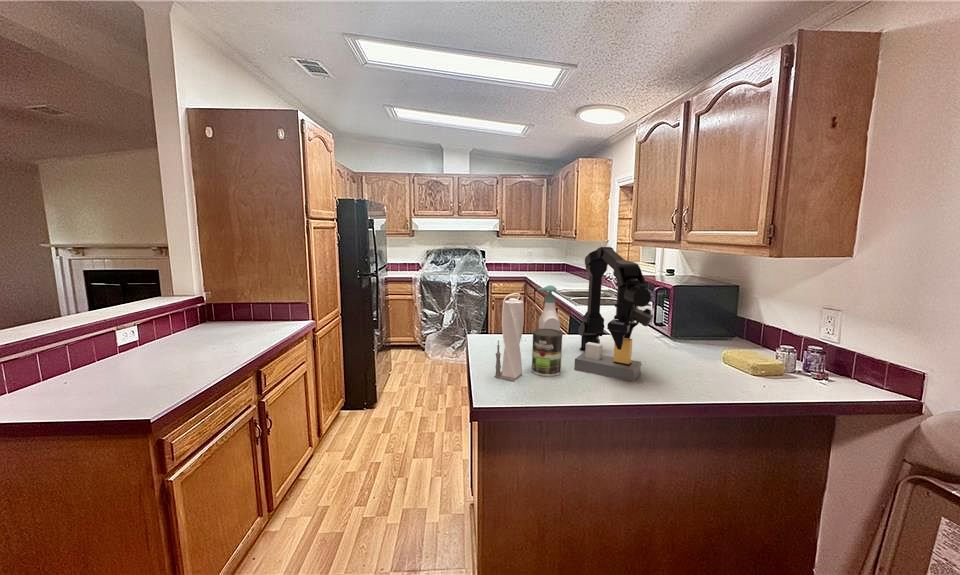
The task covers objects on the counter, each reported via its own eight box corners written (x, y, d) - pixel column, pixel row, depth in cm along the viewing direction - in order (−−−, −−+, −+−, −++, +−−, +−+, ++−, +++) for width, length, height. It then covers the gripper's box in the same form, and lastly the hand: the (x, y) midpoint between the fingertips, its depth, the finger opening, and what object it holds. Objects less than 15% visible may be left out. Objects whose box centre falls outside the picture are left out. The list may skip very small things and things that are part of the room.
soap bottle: (533, 348, 164) (535, 283, 160) (553, 348, 164) (555, 283, 160) (538, 357, 153) (539, 287, 149) (559, 357, 153) (561, 287, 149)
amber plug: (613, 361, 134) (614, 338, 133) (616, 358, 137) (617, 336, 136) (628, 364, 132) (630, 341, 130) (631, 361, 134) (632, 338, 133)
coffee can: (556, 378, 131) (557, 337, 129) (527, 373, 136) (528, 333, 134) (564, 369, 140) (566, 330, 138) (537, 364, 145) (538, 327, 143)
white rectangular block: (584, 365, 140) (585, 343, 139) (587, 363, 143) (588, 341, 142) (598, 368, 138) (599, 346, 137) (601, 365, 140) (602, 344, 139)
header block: (574, 369, 139) (574, 358, 139) (584, 361, 147) (584, 351, 147) (633, 382, 128) (633, 370, 127) (640, 373, 136) (641, 361, 136)
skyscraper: (505, 369, 139) (507, 291, 135) (526, 374, 135) (528, 293, 131) (494, 377, 132) (495, 295, 128) (516, 382, 128) (517, 297, 124)
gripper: (645, 308, 119) (641, 357, 121) (657, 299, 134) (654, 343, 137) (608, 304, 125) (605, 351, 128) (623, 296, 141) (621, 338, 143)
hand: (623, 346), depth 133 cm, fingers open, 9 cm apart
